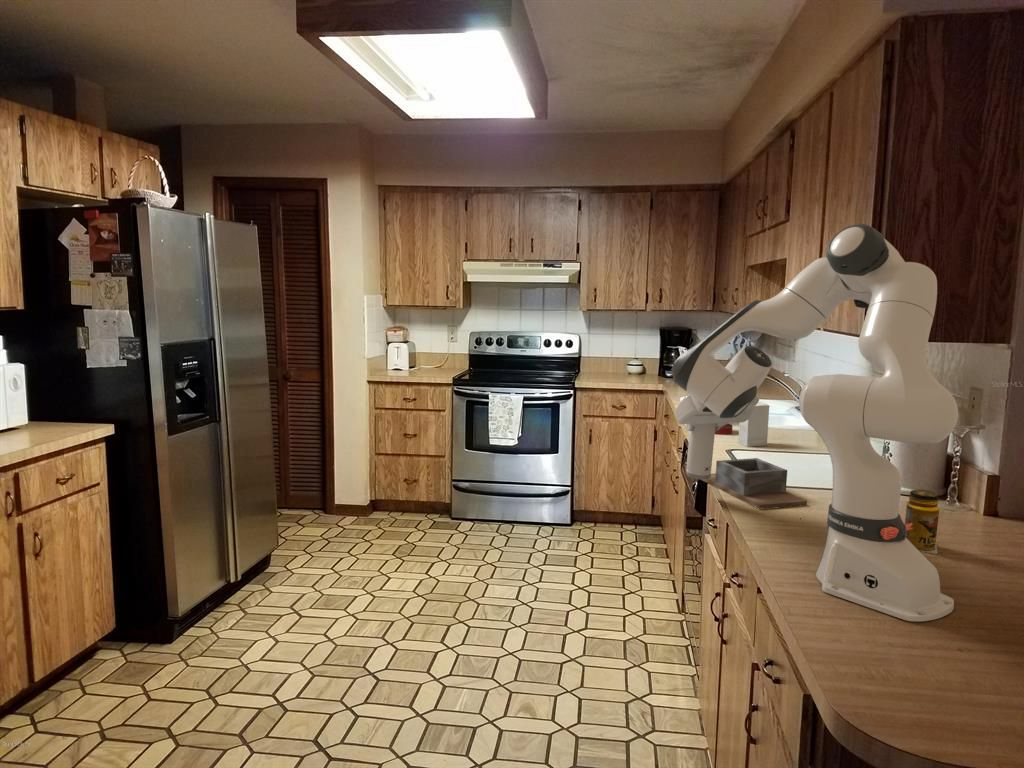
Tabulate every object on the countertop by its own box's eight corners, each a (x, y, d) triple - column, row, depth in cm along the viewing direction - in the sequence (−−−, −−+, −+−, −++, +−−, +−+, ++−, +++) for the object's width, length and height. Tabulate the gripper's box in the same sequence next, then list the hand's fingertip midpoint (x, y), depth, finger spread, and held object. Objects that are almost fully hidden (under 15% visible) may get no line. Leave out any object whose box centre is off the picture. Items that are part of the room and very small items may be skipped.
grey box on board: (806, 505, 172) (808, 477, 171) (759, 509, 168) (761, 481, 167) (740, 475, 199) (742, 451, 198) (699, 478, 195) (700, 454, 194)
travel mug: (713, 480, 173) (720, 404, 170) (686, 478, 174) (693, 402, 171) (710, 473, 179) (717, 400, 176) (685, 471, 180) (691, 398, 177)
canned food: (727, 447, 255) (728, 426, 249) (701, 440, 260) (701, 420, 254) (736, 429, 262) (737, 408, 257) (711, 423, 267) (711, 403, 262)
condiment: (937, 554, 141) (943, 499, 139) (891, 546, 145) (896, 492, 144) (936, 543, 147) (941, 490, 146) (891, 536, 152) (897, 484, 150)
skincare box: (758, 442, 242) (760, 401, 240) (767, 446, 236) (770, 404, 234) (737, 443, 240) (739, 402, 238) (746, 447, 235) (749, 405, 232)
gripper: (757, 386, 170) (731, 417, 180) (685, 387, 163) (663, 419, 174) (767, 406, 166) (740, 437, 176) (694, 408, 160) (671, 440, 170)
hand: (701, 428), depth 175 cm, fingers closed on travel mug, 6 cm apart
